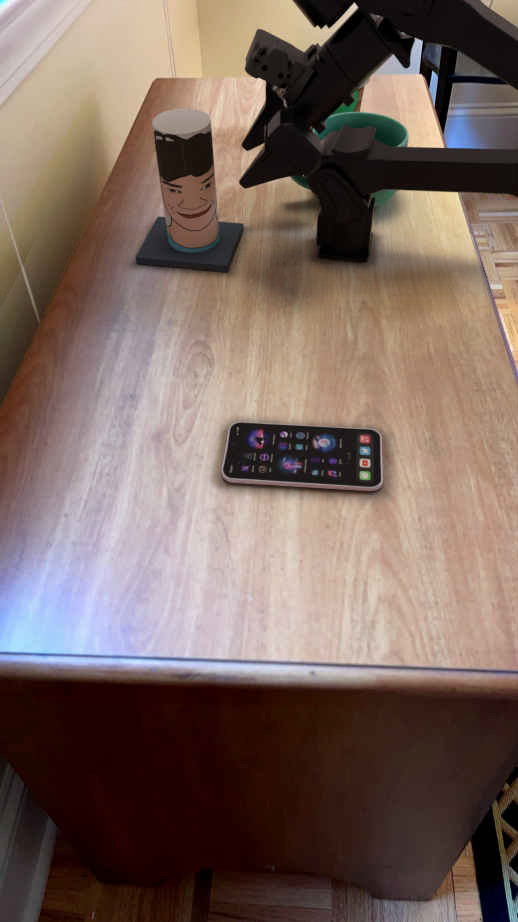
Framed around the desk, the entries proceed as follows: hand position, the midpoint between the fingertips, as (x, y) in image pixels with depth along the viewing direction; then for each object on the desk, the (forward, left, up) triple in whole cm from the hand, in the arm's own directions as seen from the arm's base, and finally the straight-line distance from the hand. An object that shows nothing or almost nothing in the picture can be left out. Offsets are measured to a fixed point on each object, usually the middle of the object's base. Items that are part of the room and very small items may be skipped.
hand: (242, 166), depth 82 cm
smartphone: (-13, +35, -11) cm, 39 cm away
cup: (+7, 0, -10) cm, 12 cm away
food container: (-6, -33, -11) cm, 36 cm away
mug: (-11, -14, -11) cm, 21 cm away
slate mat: (+7, +1, -11) cm, 13 cm away
